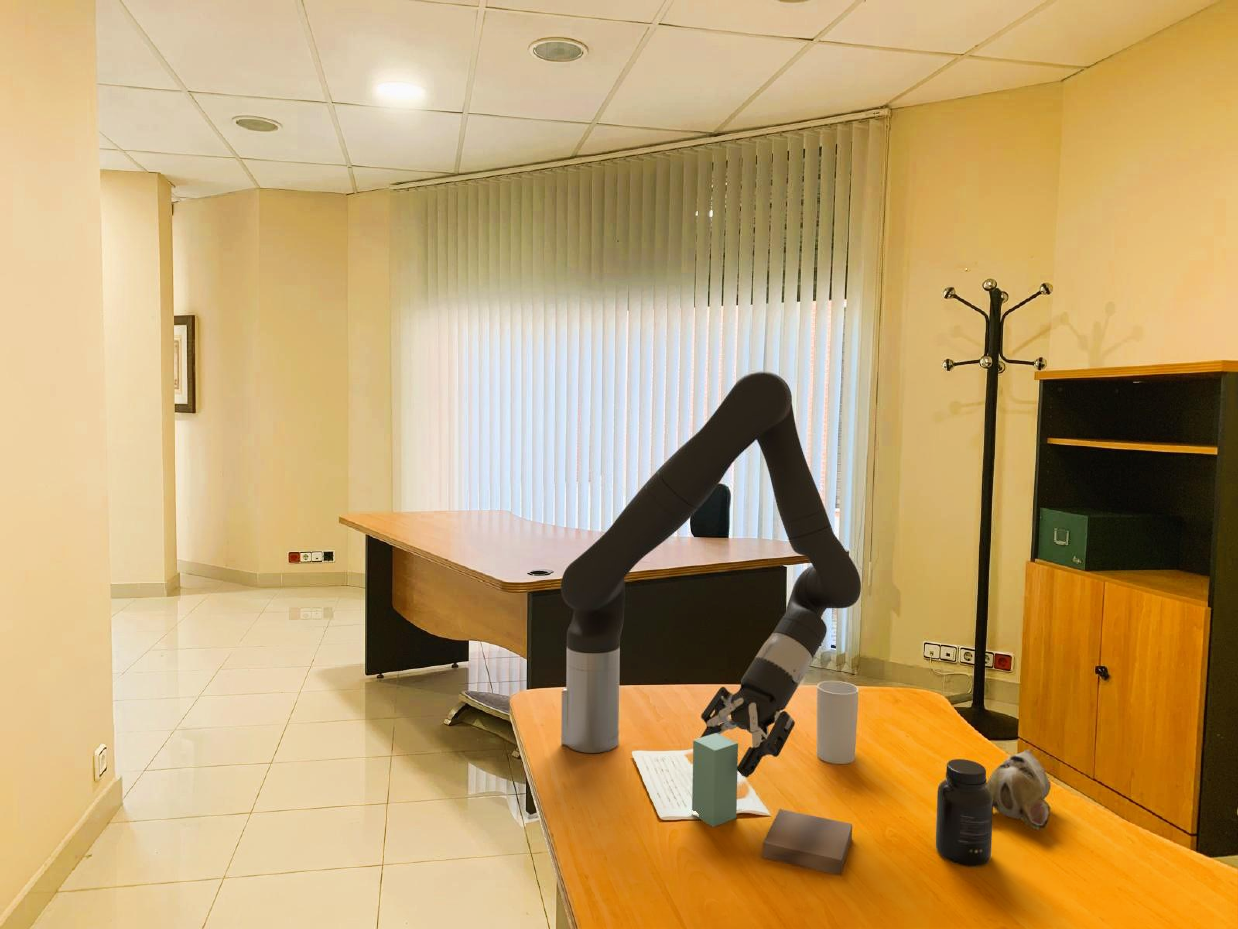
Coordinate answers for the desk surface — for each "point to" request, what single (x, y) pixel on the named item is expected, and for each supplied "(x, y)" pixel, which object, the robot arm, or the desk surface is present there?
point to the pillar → (715, 779)
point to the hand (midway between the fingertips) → (720, 763)
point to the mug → (836, 721)
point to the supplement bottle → (964, 814)
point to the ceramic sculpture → (1021, 790)
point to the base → (808, 841)
